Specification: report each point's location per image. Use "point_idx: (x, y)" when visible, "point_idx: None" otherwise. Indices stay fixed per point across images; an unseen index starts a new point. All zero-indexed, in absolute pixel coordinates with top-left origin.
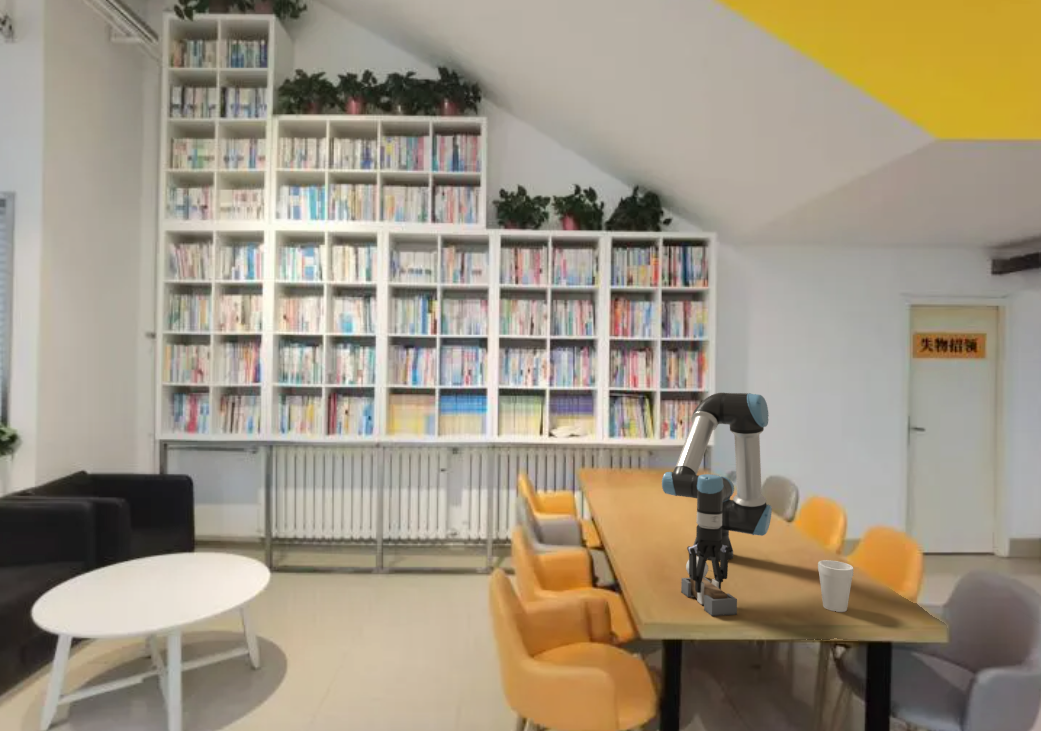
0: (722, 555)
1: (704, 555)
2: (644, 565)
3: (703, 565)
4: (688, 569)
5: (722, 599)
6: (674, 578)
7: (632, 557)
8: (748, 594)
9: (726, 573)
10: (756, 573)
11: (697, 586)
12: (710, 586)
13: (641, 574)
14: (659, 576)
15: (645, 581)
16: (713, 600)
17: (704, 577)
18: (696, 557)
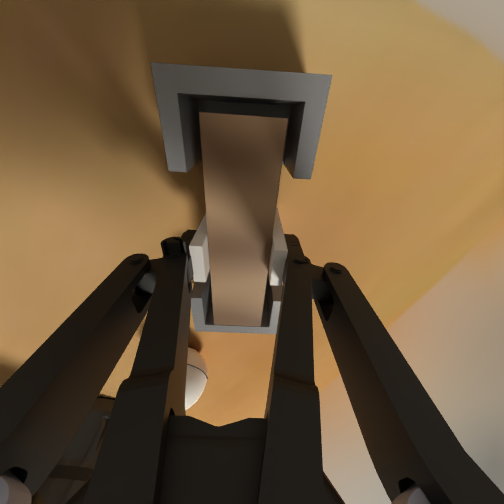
0: (55, 426)
1: (320, 455)
2: (263, 398)
3: (295, 334)
4: (206, 373)
5: (252, 81)
6: (240, 356)
7: (263, 417)
8: (71, 254)
9: (117, 274)
10: (22, 350)
11: (301, 249)
12: (235, 241)
13: None
14: (267, 366)
15: (316, 353)
16: (322, 75)
17: (197, 327)
18: None
